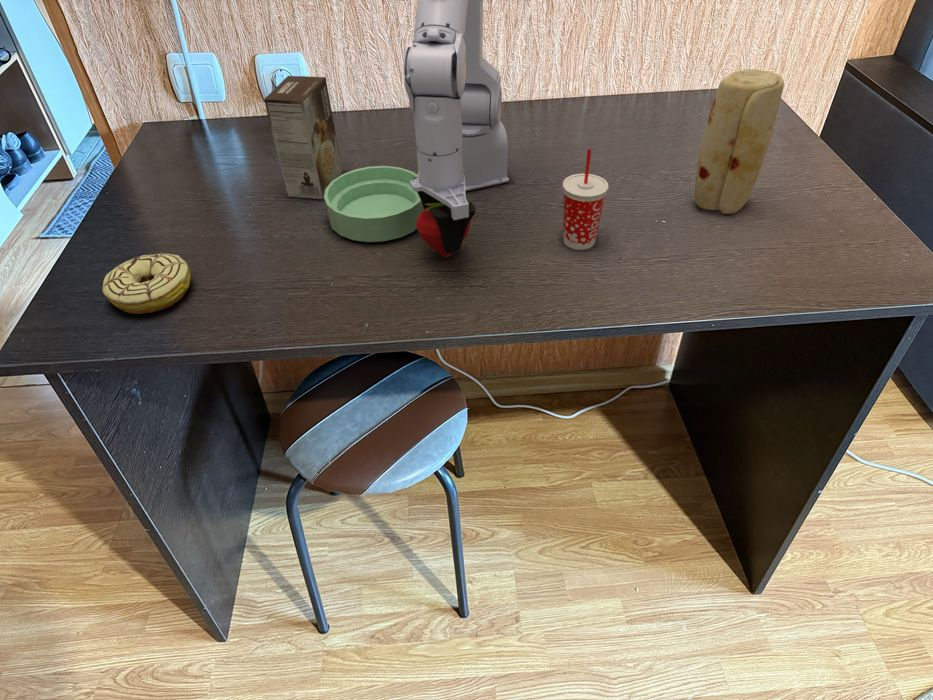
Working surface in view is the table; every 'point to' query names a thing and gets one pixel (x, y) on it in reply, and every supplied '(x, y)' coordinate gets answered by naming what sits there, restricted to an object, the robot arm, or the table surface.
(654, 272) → the table surface
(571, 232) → the beverage cup
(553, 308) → the table surface
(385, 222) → the mint green dish
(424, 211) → the strawberry
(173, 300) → the decorated donut
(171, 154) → the table surface
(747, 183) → the food model
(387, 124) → the table surface
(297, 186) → the coffee box
